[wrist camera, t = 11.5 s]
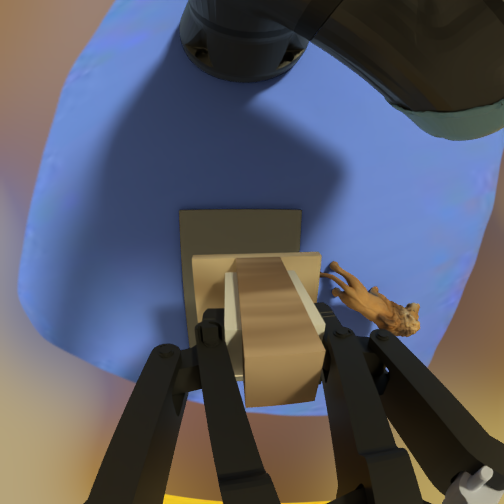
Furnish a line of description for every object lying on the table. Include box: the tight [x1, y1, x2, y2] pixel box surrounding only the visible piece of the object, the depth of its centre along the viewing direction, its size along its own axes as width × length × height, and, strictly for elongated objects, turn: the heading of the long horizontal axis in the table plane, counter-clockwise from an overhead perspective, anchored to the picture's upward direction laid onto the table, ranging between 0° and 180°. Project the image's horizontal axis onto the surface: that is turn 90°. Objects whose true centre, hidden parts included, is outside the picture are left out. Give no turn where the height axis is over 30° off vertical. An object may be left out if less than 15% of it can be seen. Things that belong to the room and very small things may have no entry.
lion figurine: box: [320, 261, 420, 337], centre depth 32 cm, size 15×5×9 cm, turn 68°
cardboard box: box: [192, 252, 326, 408], centre depth 16 cm, size 6×9×11 cm, turn 90°
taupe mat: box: [179, 209, 302, 381], centre depth 35 cm, size 25×14×1 cm, turn 179°
